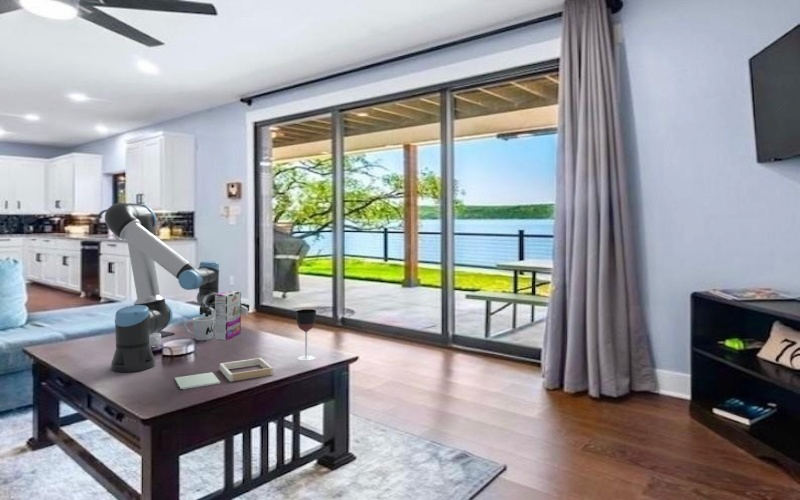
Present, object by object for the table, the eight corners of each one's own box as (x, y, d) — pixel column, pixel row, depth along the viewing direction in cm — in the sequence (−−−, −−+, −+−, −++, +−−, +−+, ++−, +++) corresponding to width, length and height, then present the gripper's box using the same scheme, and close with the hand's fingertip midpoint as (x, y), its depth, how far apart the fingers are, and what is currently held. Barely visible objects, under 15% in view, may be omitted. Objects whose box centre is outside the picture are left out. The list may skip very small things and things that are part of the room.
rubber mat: (180, 389, 171) (180, 388, 171) (174, 379, 182) (174, 377, 181) (220, 383, 177) (220, 381, 177) (212, 373, 188) (212, 372, 188)
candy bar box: (228, 333, 190) (229, 290, 189) (241, 334, 189) (242, 291, 188) (213, 339, 179) (214, 294, 178) (226, 341, 178) (227, 295, 177)
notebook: (136, 345, 231) (174, 335, 250) (136, 341, 231) (174, 332, 250) (118, 342, 237) (157, 333, 256) (118, 338, 237) (157, 330, 256)
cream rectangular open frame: (229, 381, 180) (229, 374, 180) (219, 369, 193) (219, 363, 193) (273, 374, 188) (273, 367, 188) (260, 363, 202) (260, 357, 202)
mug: (210, 341, 238) (210, 320, 237) (179, 340, 238) (178, 320, 237) (218, 336, 248) (218, 316, 247) (188, 335, 248) (188, 315, 248)
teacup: (139, 346, 227) (139, 334, 227) (156, 343, 233) (156, 332, 233) (148, 350, 221) (148, 338, 220) (166, 347, 226) (166, 335, 226)
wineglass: (319, 356, 213) (320, 310, 212) (307, 361, 205) (307, 313, 204) (304, 354, 217) (304, 308, 215) (292, 359, 209) (292, 311, 208)
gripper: (243, 310, 205) (262, 320, 187) (183, 314, 192) (197, 326, 174) (244, 292, 204) (262, 301, 186) (183, 295, 191) (197, 305, 173)
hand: (231, 313), depth 180 cm, fingers closed on candy bar box, 11 cm apart
